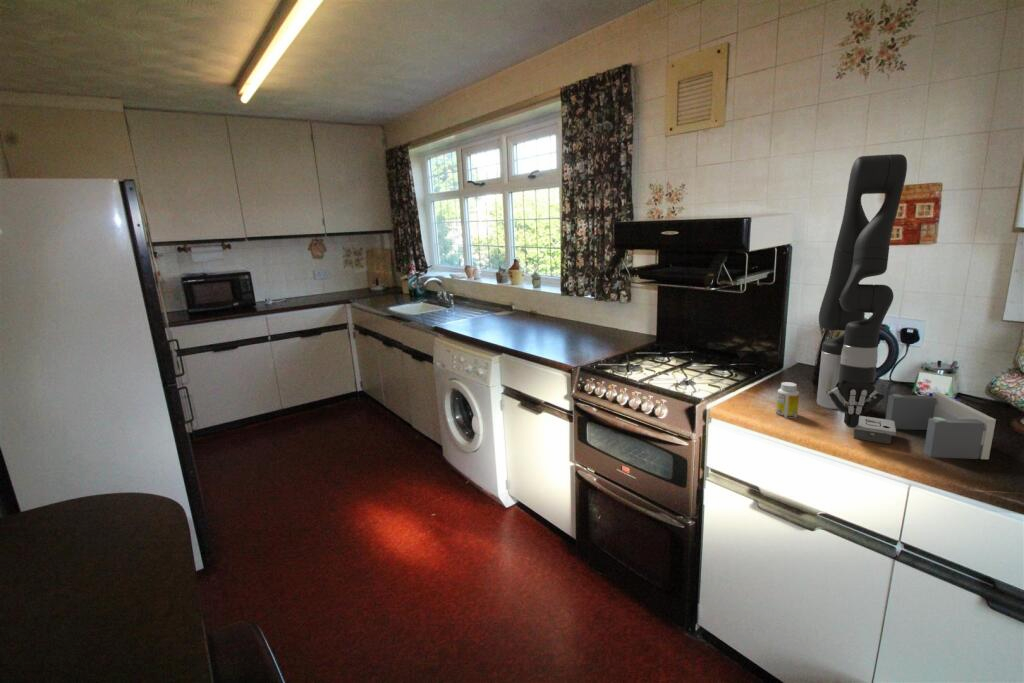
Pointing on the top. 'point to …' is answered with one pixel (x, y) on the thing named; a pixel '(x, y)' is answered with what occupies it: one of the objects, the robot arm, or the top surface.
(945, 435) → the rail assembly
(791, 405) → the supplement bottle
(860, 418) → the electrical switch
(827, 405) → the robot arm
